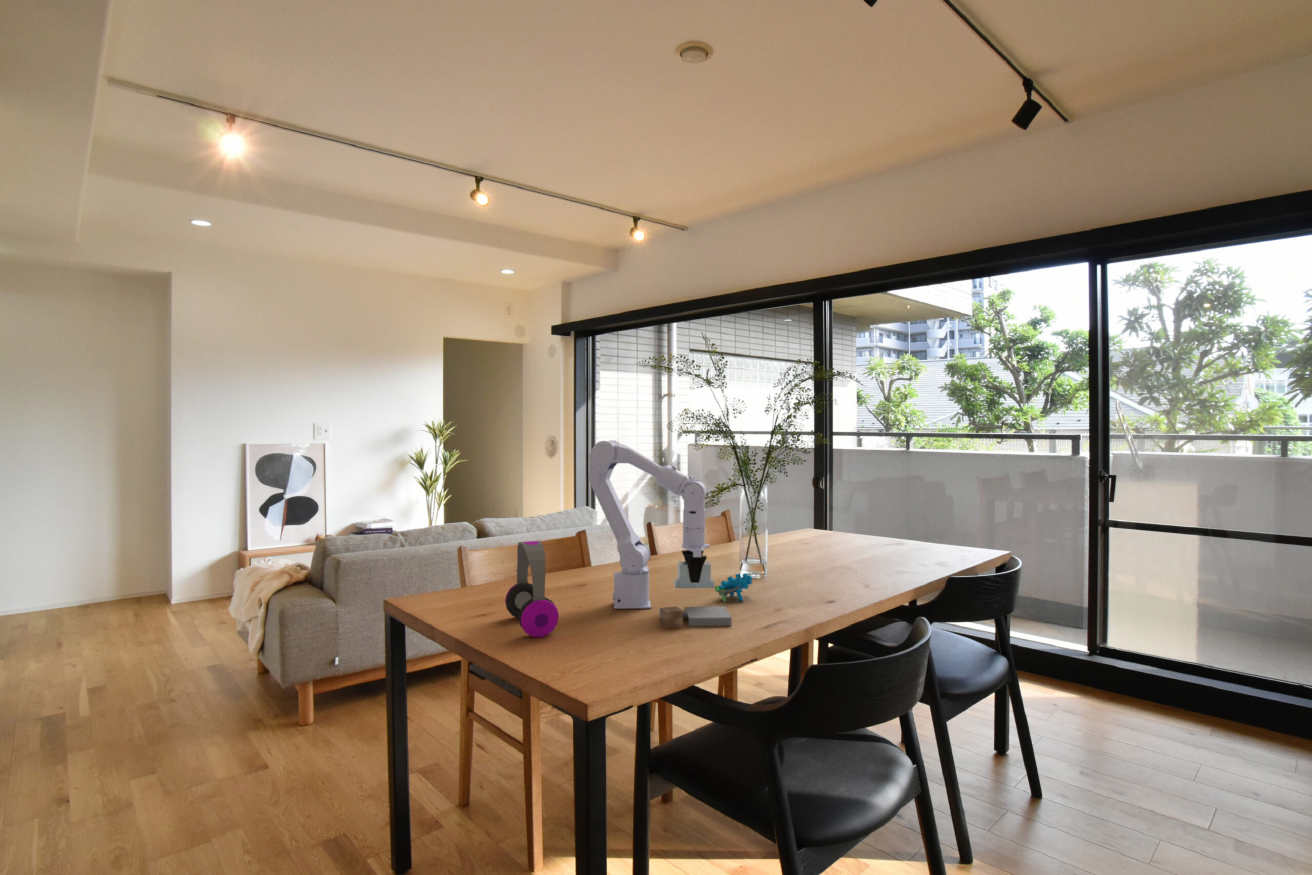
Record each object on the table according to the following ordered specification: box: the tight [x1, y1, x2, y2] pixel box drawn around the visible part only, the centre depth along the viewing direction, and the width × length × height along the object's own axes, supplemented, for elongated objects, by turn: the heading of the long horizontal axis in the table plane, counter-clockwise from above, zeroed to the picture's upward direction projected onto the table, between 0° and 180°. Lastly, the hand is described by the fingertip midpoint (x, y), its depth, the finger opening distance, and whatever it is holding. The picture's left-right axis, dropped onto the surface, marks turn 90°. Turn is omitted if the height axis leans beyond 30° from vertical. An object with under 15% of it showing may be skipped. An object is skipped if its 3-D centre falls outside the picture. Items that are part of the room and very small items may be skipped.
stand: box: [684, 605, 733, 627], centre depth 164 cm, size 10×10×2 cm
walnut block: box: [660, 605, 684, 630], centre depth 160 cm, size 4×4×4 cm
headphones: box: [504, 540, 560, 638], centre depth 159 cm, size 21×9×20 cm, turn 23°
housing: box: [673, 560, 715, 589], centre depth 175 cm, size 10×4×6 cm, turn 94°
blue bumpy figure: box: [714, 573, 753, 603], centre depth 185 cm, size 11×6×10 cm
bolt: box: [658, 607, 686, 621], centre depth 165 cm, size 6×3×3 cm, turn 94°
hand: (693, 580), depth 175 cm, fingers closed on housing, 4 cm apart
